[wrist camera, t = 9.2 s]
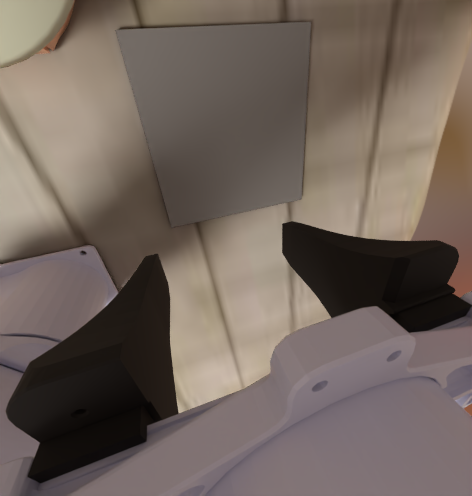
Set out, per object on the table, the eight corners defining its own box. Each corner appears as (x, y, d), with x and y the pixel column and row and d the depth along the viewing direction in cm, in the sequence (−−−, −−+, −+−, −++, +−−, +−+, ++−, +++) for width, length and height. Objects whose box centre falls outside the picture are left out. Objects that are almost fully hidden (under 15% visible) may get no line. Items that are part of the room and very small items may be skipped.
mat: (171, 226, 22) (171, 227, 21) (116, 31, 14) (115, 29, 14) (299, 198, 24) (301, 199, 24) (308, 23, 17) (311, 21, 17)
